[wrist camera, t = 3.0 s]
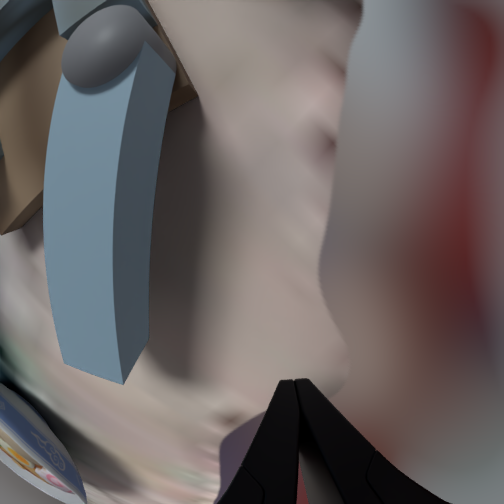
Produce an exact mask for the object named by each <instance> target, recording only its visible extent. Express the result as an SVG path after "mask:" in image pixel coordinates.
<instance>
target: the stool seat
mask: <svg viewBox="0 0 504 504" xmlns="http://www.w3.org/2000/svg"><path fill="white" fill-rule="evenodd" d="M114 5H128V6H131V7H133V8H135V9H136V10H138V11H139V13H140V14H141V15H142V16H143V17H144V19H145V20H146V21H147V22H148V24H149V25H150V26H151V27H152V29H153V30H154V31H155V32H156V33H157V35H158V36H159V37H160V39H161V40H162V41H163V42H164V44H165V45H166V46H167V47H168V49H169V50H170V51H171V53H172V54H173V55H174V57H175V60H176V65H177V70H176V75H175V80H174V84H173V88H172V93H171V97H170V102H169V107H168V112H170V111H171V110H173V109H175V108H177V107H179V106H180V105H182V104H184V103H186V102H188V101H190V100H192V99H194V98H195V97H197V96H198V94H197V92H196V90H195V88H194V86H193V84H192V82H191V80H190V79H189V77H188V75H187V73H186V71H185V69H184V67H183V65H182V63H181V61H180V59H179V58H178V56H177V54H176V52H175V50H174V48H173V46H172V44H171V43H170V41H169V39H168V37H167V35H166V33H165V31H164V30H163V28H162V26H161V24H160V22H159V20H158V19H157V17H156V15H155V13H154V11H153V10H152V8H151V6H150V4H149V2H148V1H147V0H0V234H1V235H4V234H6V233H9V232H12V231H14V230H17V229H19V228H21V227H22V226H23V225H24V224H25V223H26V222H27V221H28V220H29V219H30V218H31V217H32V216H33V215H34V214H35V213H36V212H37V211H38V210H39V209H40V208H41V207H42V206H43V194H44V175H45V163H46V153H47V145H48V138H49V131H50V125H51V119H52V114H53V109H54V104H55V99H56V95H57V91H58V87H59V83H60V79H61V75H62V68H61V60H62V54H63V51H64V48H65V46H66V44H67V42H68V40H69V38H70V36H71V35H72V34H73V32H74V31H75V30H76V29H77V27H78V26H79V25H80V24H81V23H82V22H83V21H85V20H86V19H87V18H88V17H90V16H91V15H92V14H94V13H96V12H97V11H99V10H102V9H104V8H107V7H110V6H114ZM168 112H167V113H168Z"/></svg>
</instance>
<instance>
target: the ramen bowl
mask: <svg viewBox="0 0 504 504" xmlns="http://www.w3.org/2000/svg"><path fill="white" fill-rule="evenodd" d="M0 460H1V461H2V462H3V463H4V464H5V465H7V466H8V467H9V468H10V469H12V470H13V471H14V472H15V473H16V474H18V475H19V476H20V477H22V478H23V479H25V480H26V481H27V482H29V483H30V484H32V485H33V486H35V487H37V488H38V489H40V490H41V491H43V492H45V493H46V494H48V495H50V496H52V497H54V498H56V499H58V500H60V501H62V502H64V503H66V504H87V498H86V493H85V490H84V486H83V483H82V480H81V477H80V475H79V472H78V469H77V467H76V465H75V464H74V462H73V460H72V458H71V457H70V455H69V453H68V452H67V450H66V448H65V446H64V445H63V444H62V443H61V441H60V440H59V439H58V438H57V437H56V436H55V434H54V433H53V432H52V431H51V429H50V428H49V427H48V424H47V422H46V421H45V420H44V419H43V417H42V416H41V415H40V414H39V413H38V412H37V411H36V409H35V408H34V407H33V406H32V405H31V404H30V403H28V402H27V401H26V400H25V399H24V398H23V397H21V396H20V395H19V394H17V393H16V392H15V391H12V390H10V389H8V388H7V387H5V386H4V385H3V384H2V383H0Z"/></svg>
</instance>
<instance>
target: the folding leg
mask: <svg viewBox="0 0 504 504" xmlns="http://www.w3.org/2000/svg"><path fill="white" fill-rule="evenodd" d="M61 68H62V75H61V79H60V83H59V87H58V91H57V95H56V99H55V104H54V109H53V114H52V119H51V125H50V131H49V138H48V145H47V153H46V163H45V175H44V194H43V232H44V251H45V264H46V273H47V282H48V289H49V296H50V302H51V308H52V314H53V319H54V324H55V329H56V333H57V338H58V342H59V346H60V350H61V354H62V357H63V361H64V363H65V364H67V365H69V366H72V367H74V368H77V369H79V370H82V371H84V372H87V373H90V374H92V375H95V376H98V377H101V378H104V379H107V380H110V381H113V382H116V383H119V384H122V385H124V383H125V381H126V379H127V377H128V375H129V374H130V372H131V370H132V368H133V366H134V365H135V363H136V361H137V359H138V357H139V356H140V354H141V352H142V350H143V348H144V347H145V345H146V343H147V341H148V340H149V268H150V247H151V232H152V219H153V208H154V198H155V189H156V181H157V173H158V166H159V159H160V152H161V146H162V139H163V134H164V128H165V122H166V117H167V112H168V107H169V102H170V97H171V93H172V88H173V84H174V80H175V75H176V70H177V65H176V60H175V57H174V55H173V54H172V53H171V51H170V50H169V49H168V47H167V46H166V45H165V44H164V42H163V41H162V40H161V39H160V37H159V36H158V35H157V33H156V32H155V31H154V30H153V29H152V27H151V26H150V25H149V24H148V22H147V21H146V20H145V19H144V17H143V16H142V15H141V14H140V13H139V11H138V10H136V9H135V8H133V7H131V6H128V5H114V6H110V7H107V8H104V9H102V10H99V11H97V12H96V13H94V14H92V15H91V16H90V17H88V18H87V19H86V20H85V21H83V22H82V23H81V24H80V25H79V26H78V27H77V29H76V30H75V31H74V32H73V34H72V35H71V36H70V38H69V40H68V42H67V44H66V46H65V48H64V51H63V54H62V60H61Z"/></svg>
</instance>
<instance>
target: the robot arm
mask: <svg viewBox="0 0 504 504" xmlns="http://www.w3.org/2000/svg"><path fill="white" fill-rule="evenodd" d="M375 450H376V449H375V448H374V447H373V446H372V445H371V444H370V443H369V442H368V441H367V440H366V439H365V438H364V437H363V436H362V435H361V434H360V432H359V431H357V429H356V428H354V426H353V425H351V423H350V422H349V421H348V420H347V419H346V418H345V417H344V416H343V415H342V414H341V413H340V412H339V411H338V410H337V409H336V408H335V407H334V406H333V405H332V403H331V402H330V401H329V400H328V399H327V398H326V397H325V396H324V395H323V394H322V393H321V392H320V391H319V390H318V389H317V387H316V386H315V385H314V384H313V383H312V382H311V381H310V380H309V379H307V378H302V379H295V380H294V381H293V380H292V379H289V380H280V381H279V383H278V385H277V388H276V390H275V392H274V395H273V397H272V399H271V402H270V404H269V406H268V408H267V411H266V413H265V415H264V417H263V420H262V422H261V424H260V426H259V428H258V431H257V433H256V435H255V437H254V439H253V441H252V443H251V446H250V447H249V449H248V451H247V453H246V455H245V458H244V460H243V461H242V463H241V466H240V467H239V469H238V471H237V473H236V475H235V477H234V478H233V480H232V482H231V484H230V485H229V487H228V489H227V490H226V492H225V493H224V494H223V496H222V497H221V499H220V500H219V501H218V503H217V504H296V501H297V484H298V466H299V462H300V466H301V471H302V475H303V480H304V484H305V489H306V493H307V498H308V502H309V504H451V503H449V502H446V501H444V500H442V499H441V498H439V497H437V496H436V495H434V494H432V493H431V492H430V491H428V490H426V489H425V488H423V487H422V486H420V485H419V484H418V483H416V482H415V481H413V480H412V479H410V478H409V477H408V476H406V475H405V474H404V473H402V472H401V471H400V470H398V469H397V468H396V467H395V466H394V465H392V464H391V463H390V462H389V461H388V460H387V459H386V458H385V457H383V455H382V454H381V453H380V452H379V451H377V450H376V451H375Z"/></svg>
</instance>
